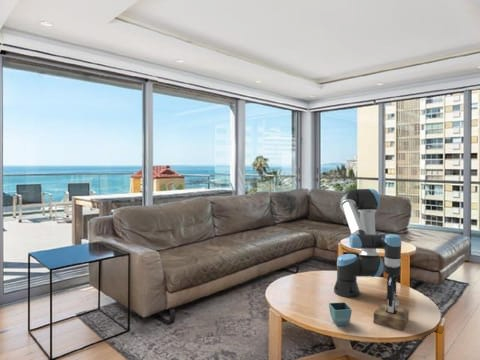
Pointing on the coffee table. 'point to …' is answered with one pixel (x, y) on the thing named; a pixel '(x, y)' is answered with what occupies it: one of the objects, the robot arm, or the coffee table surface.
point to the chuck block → (391, 316)
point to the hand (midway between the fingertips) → (391, 310)
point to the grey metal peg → (394, 303)
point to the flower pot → (340, 313)
